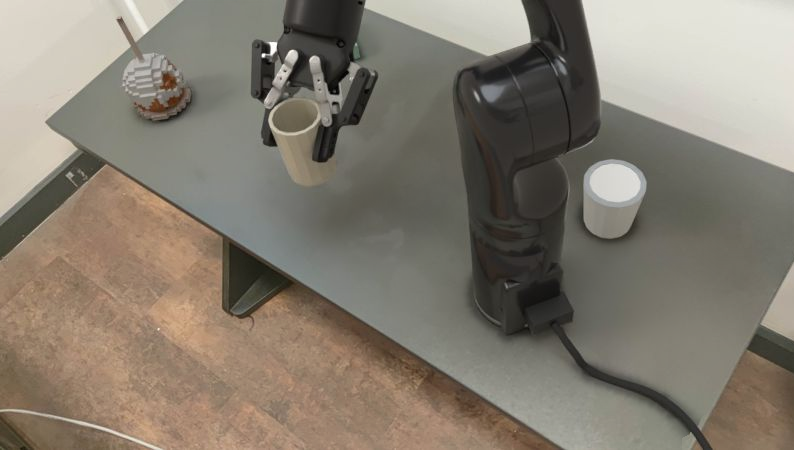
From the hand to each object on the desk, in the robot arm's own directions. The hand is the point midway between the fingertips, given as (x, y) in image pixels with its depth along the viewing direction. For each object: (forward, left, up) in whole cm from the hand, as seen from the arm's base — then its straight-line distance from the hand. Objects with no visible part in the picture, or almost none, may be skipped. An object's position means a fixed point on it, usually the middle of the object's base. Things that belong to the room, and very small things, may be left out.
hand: (295, 153), depth 72 cm
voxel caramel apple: (+32, +16, -15) cm, 39 cm away
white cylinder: (-11, -32, -15) cm, 37 cm away
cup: (+1, -1, -4) cm, 5 cm away
